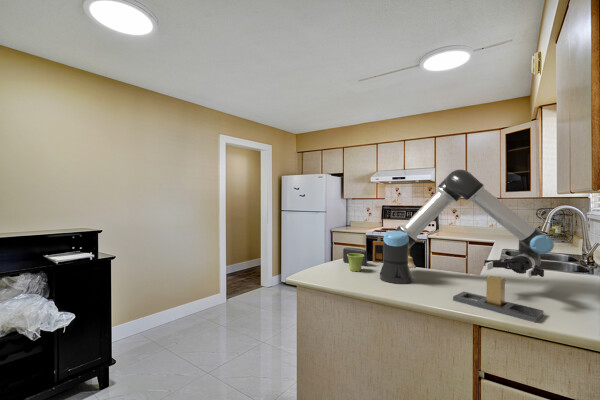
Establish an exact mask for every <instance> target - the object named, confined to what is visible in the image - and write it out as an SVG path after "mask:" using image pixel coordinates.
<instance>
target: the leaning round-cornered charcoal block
mask: <svg viewBox="0 0 600 400" xmlns="http://www.w3.org/2000/svg"><path fill="white" fill-rule="evenodd" d="M352 253H356V254H362V255H364V257H363V260H362V266H361V267H366V266H367V265H368V260H367V259H368V251H367V250H365V249H362V248H356V247H344V248H343V250H342V256H343V257H342V258H343V259H342V261H343V263H345V264H349V259H348V256H347V254H352Z"/></svg>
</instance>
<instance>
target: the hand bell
mask: <svg viewBox="0 0 600 400" xmlns="http://www.w3.org/2000/svg"><path fill="white" fill-rule="evenodd" d="M411 249H412V246H411V247H410V248H409V249H408V266H409V269H412V268H411V267H414V268H416V265H415V264H414V259H413V257H412V256H411Z"/></svg>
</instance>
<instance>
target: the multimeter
mask: <svg viewBox="0 0 600 400" xmlns="http://www.w3.org/2000/svg"><path fill="white" fill-rule="evenodd" d="M376 232H377V233H379V231H378V230H376ZM382 232H383V233H384V232H385V233H386V232H387V231H386V230H385V231H384V230H383V231H381V233H382ZM373 234H374V232H372V234H371V236H370V237H371V239H370V241H371V242H370V243H371V244H372V245H371V248H370V251H369V253H368V255H367V262H368V261H370V259H369V256H370V253H371V250H372V262H373V263H384V240H383V241H381V238H380V236H377V240H373V239H372V237H373ZM372 240H373V241H372Z"/></svg>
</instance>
